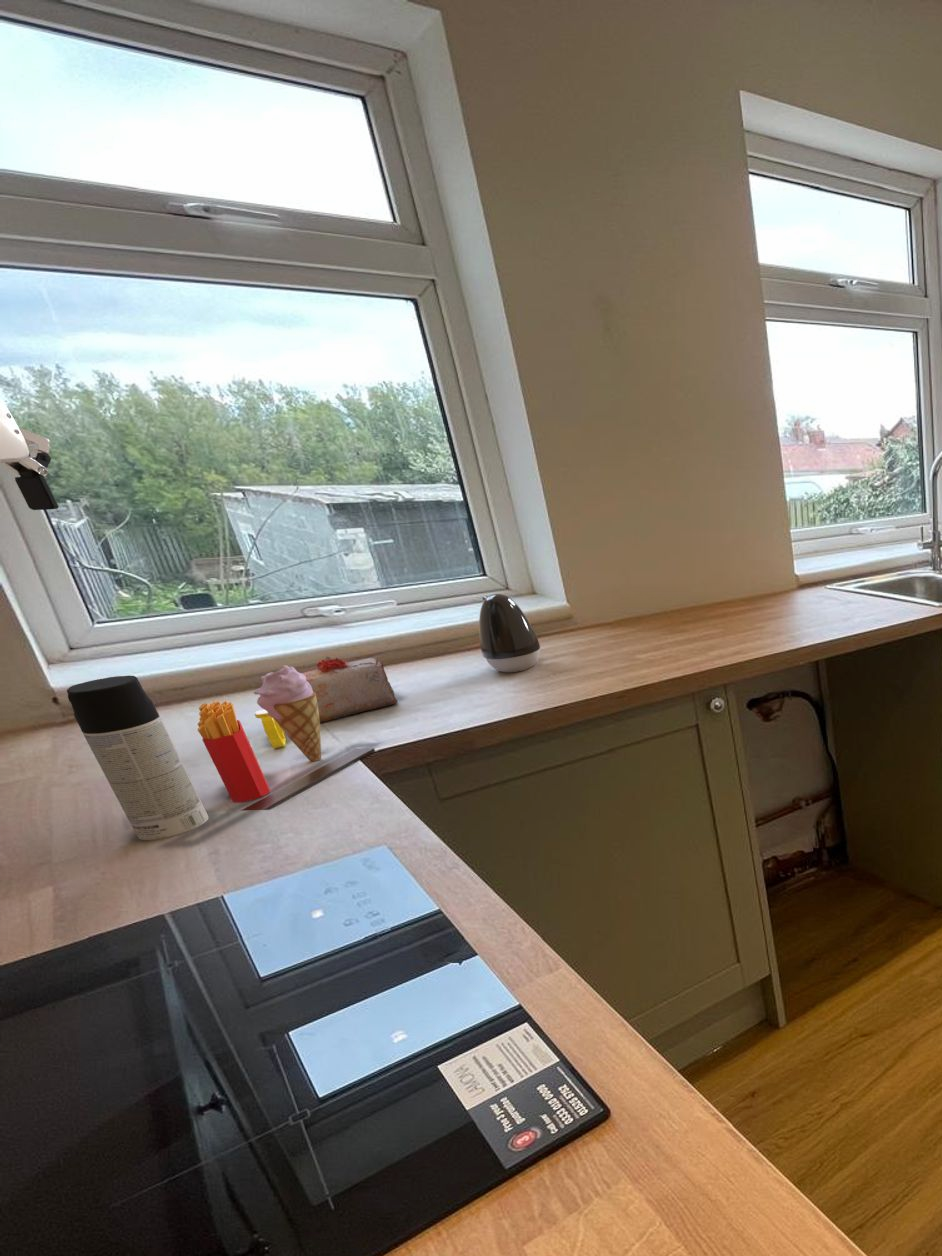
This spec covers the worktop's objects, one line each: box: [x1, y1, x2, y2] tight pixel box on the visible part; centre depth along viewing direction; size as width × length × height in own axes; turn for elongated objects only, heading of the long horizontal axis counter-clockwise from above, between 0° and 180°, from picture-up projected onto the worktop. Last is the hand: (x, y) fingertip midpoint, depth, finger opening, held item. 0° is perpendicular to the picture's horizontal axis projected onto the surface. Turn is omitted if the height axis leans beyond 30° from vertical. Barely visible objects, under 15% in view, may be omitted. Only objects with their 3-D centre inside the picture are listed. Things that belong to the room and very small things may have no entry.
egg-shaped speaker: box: [478, 593, 541, 673], centre depth 161 cm, size 10×10×15 cm
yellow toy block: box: [254, 708, 287, 749], centre depth 129 cm, size 6×3×6 cm, turn 37°
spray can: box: [66, 675, 209, 841], centre depth 99 cm, size 7×7×20 cm
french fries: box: [197, 700, 271, 803], centre depth 110 cm, size 9×4×13 cm, turn 44°
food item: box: [300, 656, 399, 724], centre depth 142 cm, size 14×8×10 cm, turn 138°
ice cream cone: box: [253, 664, 322, 762], centre depth 120 cm, size 7×6×15 cm
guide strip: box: [240, 747, 376, 812], centre depth 112 cm, size 3×30×1 cm, turn 179°
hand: (1, 514), depth 99 cm, fingers open, 9 cm apart
